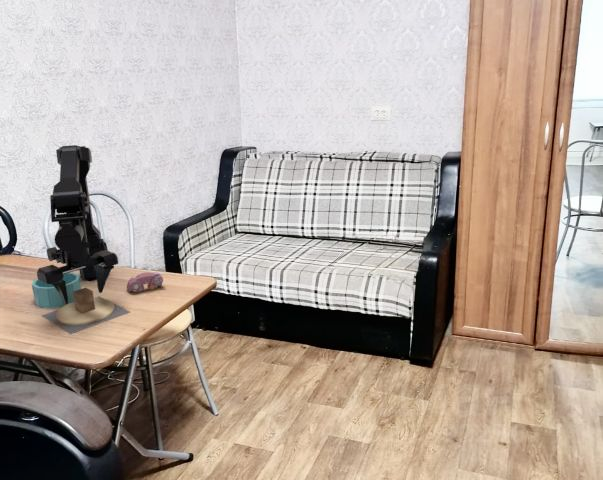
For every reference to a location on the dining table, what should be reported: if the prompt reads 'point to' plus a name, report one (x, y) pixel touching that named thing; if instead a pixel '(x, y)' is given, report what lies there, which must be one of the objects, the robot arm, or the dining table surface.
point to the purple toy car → (144, 281)
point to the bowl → (55, 291)
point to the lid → (84, 309)
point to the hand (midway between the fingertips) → (83, 298)
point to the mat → (72, 329)
